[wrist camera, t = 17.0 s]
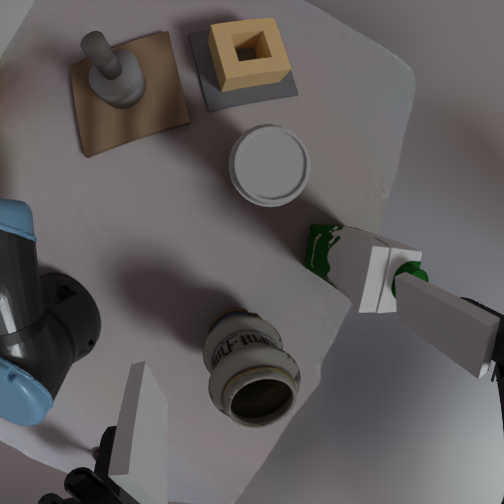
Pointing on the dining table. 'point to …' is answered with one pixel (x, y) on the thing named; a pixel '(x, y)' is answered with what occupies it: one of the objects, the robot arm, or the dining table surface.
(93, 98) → the stand
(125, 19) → the dining table surface
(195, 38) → the mat
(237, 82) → the collar
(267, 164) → the disposable coffee cup
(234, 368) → the apothecary jar
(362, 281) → the milk carton
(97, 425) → the dining table surface
